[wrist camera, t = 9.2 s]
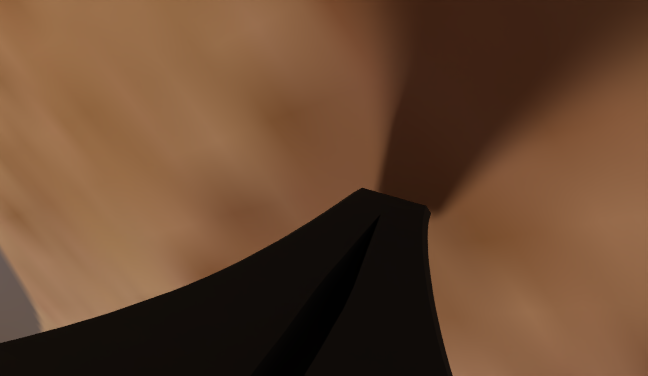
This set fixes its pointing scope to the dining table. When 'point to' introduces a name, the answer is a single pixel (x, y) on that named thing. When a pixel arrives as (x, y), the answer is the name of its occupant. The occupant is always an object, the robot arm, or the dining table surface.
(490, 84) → the dining table surface
